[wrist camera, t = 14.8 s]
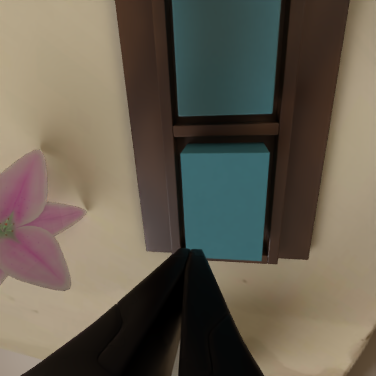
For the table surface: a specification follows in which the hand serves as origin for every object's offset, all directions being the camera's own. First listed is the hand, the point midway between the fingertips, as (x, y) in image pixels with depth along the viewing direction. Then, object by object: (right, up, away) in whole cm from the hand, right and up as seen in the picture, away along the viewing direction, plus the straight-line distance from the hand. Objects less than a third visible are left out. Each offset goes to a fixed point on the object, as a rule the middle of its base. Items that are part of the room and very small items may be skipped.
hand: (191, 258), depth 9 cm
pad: (+3, +2, +11) cm, 11 cm away
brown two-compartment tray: (+3, +7, +10) cm, 12 cm away
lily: (-14, +1, +15) cm, 21 cm away
